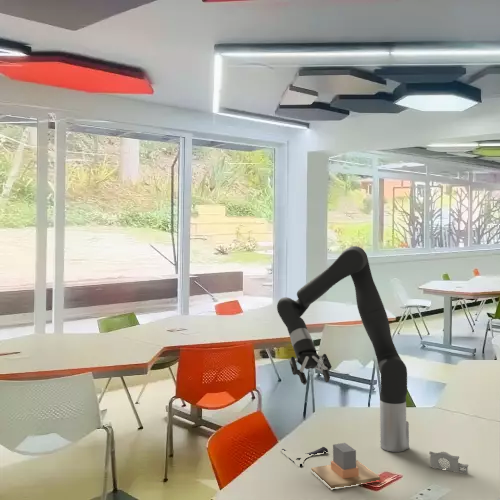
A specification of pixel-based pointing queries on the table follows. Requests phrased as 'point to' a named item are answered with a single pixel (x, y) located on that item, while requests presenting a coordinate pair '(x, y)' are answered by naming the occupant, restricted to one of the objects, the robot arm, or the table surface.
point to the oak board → (337, 481)
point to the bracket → (316, 451)
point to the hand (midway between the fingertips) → (316, 382)
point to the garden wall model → (452, 460)
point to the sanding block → (344, 461)
